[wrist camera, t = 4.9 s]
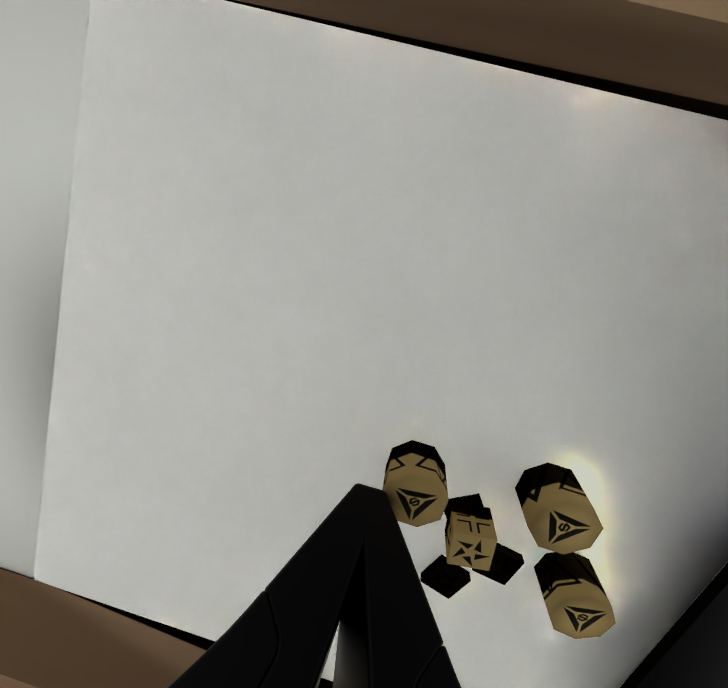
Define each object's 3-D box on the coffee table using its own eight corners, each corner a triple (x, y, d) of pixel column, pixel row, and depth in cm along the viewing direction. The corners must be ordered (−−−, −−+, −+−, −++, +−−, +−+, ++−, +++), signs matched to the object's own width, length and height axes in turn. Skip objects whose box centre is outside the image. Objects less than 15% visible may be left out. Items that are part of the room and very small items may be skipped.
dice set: (385, 426, 10) (377, 473, 8) (593, 419, 9) (635, 470, 7) (403, 566, 12) (399, 632, 10) (580, 572, 11) (612, 646, 9)
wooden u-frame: (534, 786, 13) (558, 910, 11) (-95, 568, 14) (-195, 637, 12) (1171, 46, 5) (1792, -93, 3) (-358, -282, 7) (-792, -557, 4)
